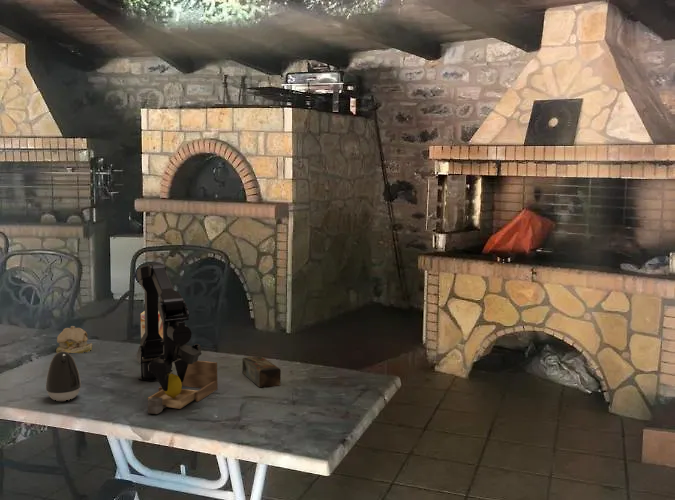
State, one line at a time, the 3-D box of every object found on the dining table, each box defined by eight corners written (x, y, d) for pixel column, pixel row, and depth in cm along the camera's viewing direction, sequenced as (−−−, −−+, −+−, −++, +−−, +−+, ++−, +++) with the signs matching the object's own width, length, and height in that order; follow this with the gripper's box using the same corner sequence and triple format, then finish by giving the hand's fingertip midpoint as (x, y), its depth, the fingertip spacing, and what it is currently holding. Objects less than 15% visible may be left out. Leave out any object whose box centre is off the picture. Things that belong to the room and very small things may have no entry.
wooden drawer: (136, 411, 200) (135, 398, 199) (166, 393, 216) (166, 381, 215) (169, 415, 196) (169, 402, 196) (198, 397, 212) (197, 385, 212)
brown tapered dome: (47, 406, 204) (45, 357, 203) (45, 396, 213) (43, 349, 212) (83, 401, 209) (81, 353, 207) (79, 391, 218) (77, 345, 216)
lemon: (166, 396, 212) (164, 371, 211) (183, 394, 212) (182, 370, 211) (163, 402, 206) (160, 376, 205) (181, 400, 207) (179, 375, 206)
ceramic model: (50, 354, 262) (49, 329, 261) (61, 346, 273) (60, 322, 272) (86, 354, 262) (85, 329, 261) (96, 346, 273) (95, 322, 272)
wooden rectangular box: (262, 370, 243) (262, 353, 242) (281, 386, 226) (281, 367, 225) (241, 373, 239) (241, 356, 239) (259, 389, 223) (259, 370, 222)
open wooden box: (158, 397, 214) (157, 369, 212) (180, 384, 226) (179, 358, 225) (197, 401, 209) (197, 373, 208) (217, 389, 222) (217, 362, 221)
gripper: (179, 347, 195) (180, 398, 197) (210, 332, 213) (211, 380, 215) (146, 343, 199) (147, 394, 201) (179, 329, 216) (180, 376, 218)
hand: (173, 386), depth 209 cm, fingers open, 9 cm apart
